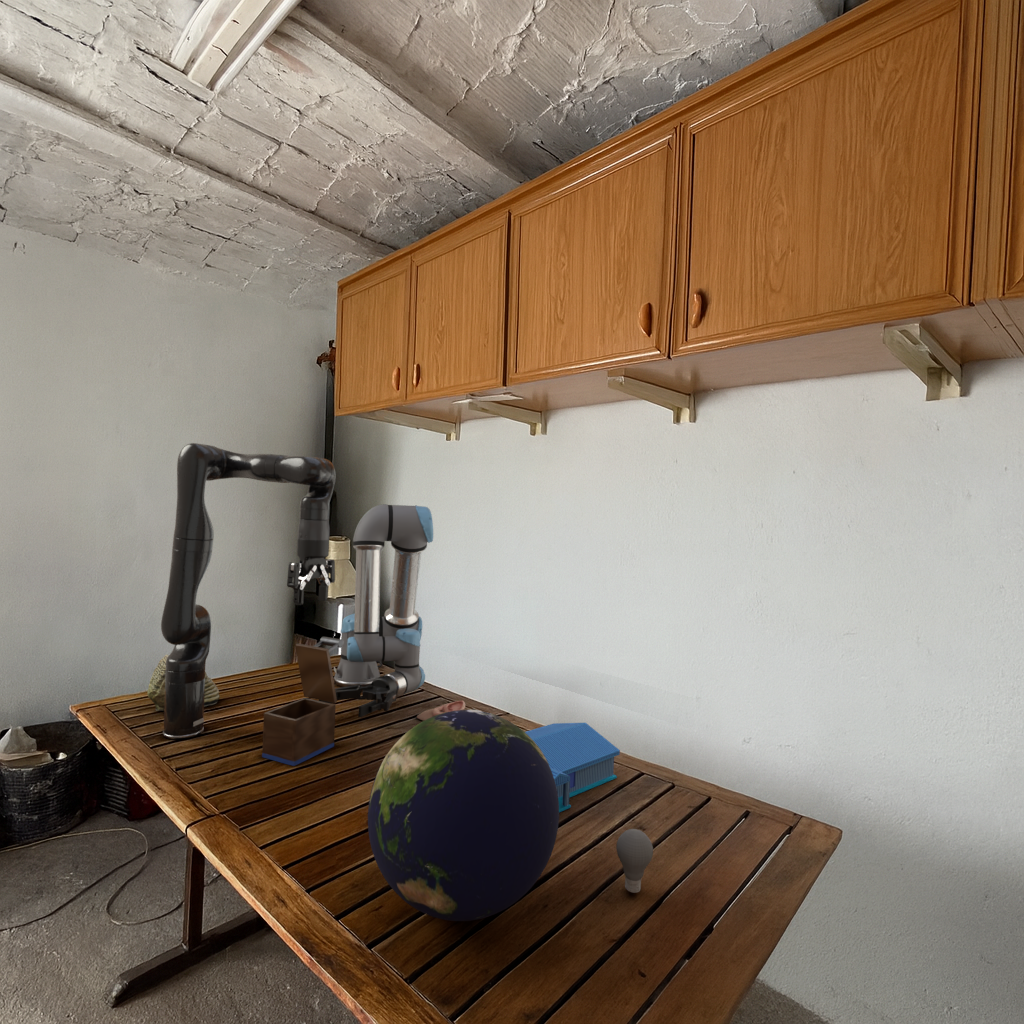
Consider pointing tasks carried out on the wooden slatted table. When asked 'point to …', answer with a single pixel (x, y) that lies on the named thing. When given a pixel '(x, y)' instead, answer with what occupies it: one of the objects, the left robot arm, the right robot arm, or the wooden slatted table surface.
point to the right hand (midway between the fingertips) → (339, 707)
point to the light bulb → (634, 857)
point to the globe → (463, 815)
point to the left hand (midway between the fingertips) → (311, 602)
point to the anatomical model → (442, 710)
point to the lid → (317, 669)
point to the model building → (575, 757)
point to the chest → (298, 731)
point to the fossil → (158, 687)
